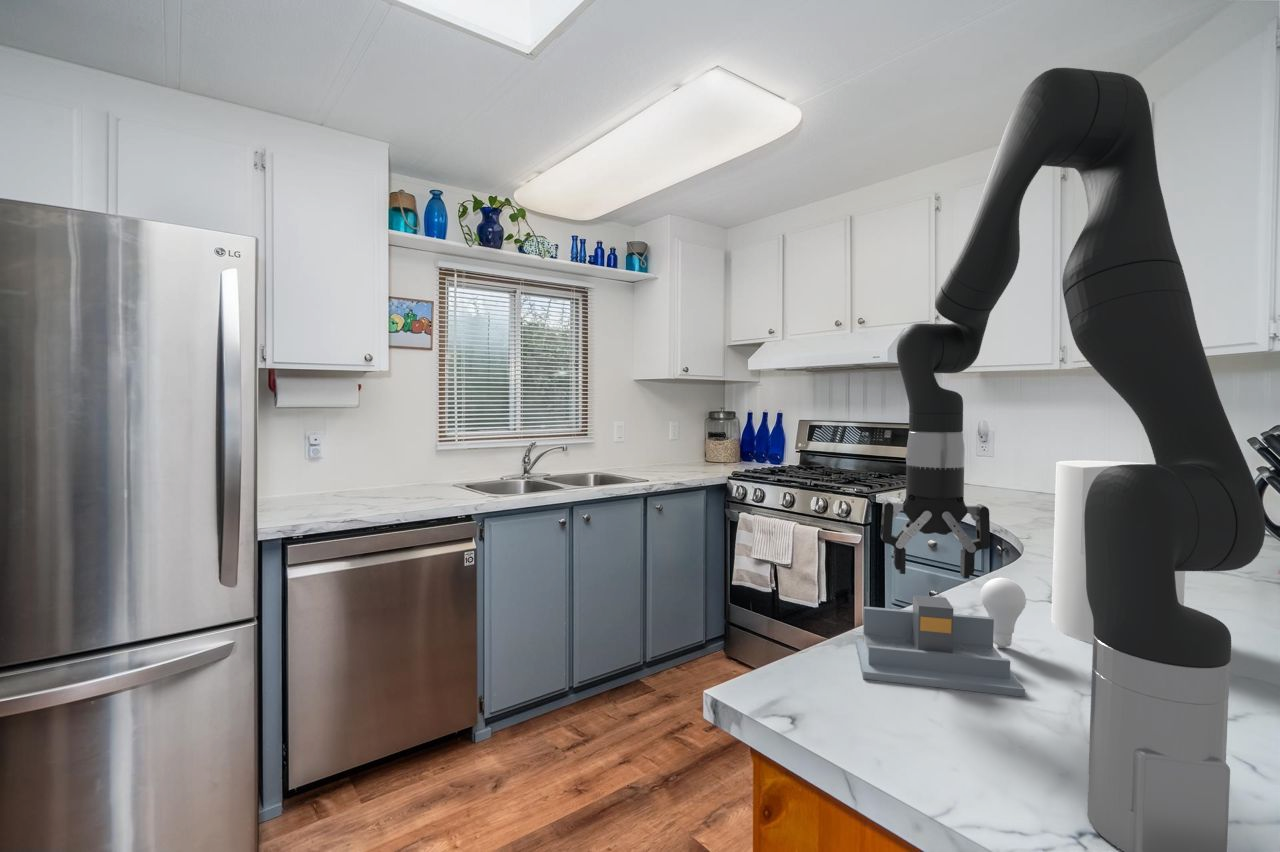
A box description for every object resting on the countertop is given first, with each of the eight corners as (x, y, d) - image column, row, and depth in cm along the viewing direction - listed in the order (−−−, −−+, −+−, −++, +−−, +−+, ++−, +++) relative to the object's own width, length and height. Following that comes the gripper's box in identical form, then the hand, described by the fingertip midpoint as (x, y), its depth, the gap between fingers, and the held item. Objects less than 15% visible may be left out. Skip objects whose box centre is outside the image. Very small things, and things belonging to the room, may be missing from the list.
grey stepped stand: (1024, 696, 80) (1026, 648, 80) (863, 678, 86) (863, 632, 85) (997, 659, 92) (998, 616, 92) (856, 645, 97) (856, 604, 97)
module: (952, 658, 86) (953, 609, 86) (918, 654, 88) (918, 606, 87) (944, 644, 91) (945, 597, 91) (912, 640, 93) (913, 595, 92)
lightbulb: (1031, 657, 93) (1033, 585, 92) (987, 654, 94) (989, 583, 93) (1015, 641, 99) (1017, 574, 98) (974, 638, 100) (975, 571, 99)
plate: (1008, 676, 84) (1008, 665, 84) (868, 662, 89) (868, 651, 89) (992, 656, 91) (993, 646, 91) (863, 643, 95) (863, 634, 95)
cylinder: (1027, 621, 108) (1032, 462, 106) (1094, 609, 114) (1099, 458, 113) (1136, 660, 92) (1143, 473, 90) (1207, 644, 98) (1215, 469, 96)
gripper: (885, 464, 87) (883, 578, 87) (998, 466, 83) (995, 586, 84) (878, 459, 94) (877, 565, 94) (982, 462, 90) (980, 571, 91)
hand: (933, 574), depth 89 cm, fingers open, 8 cm apart
